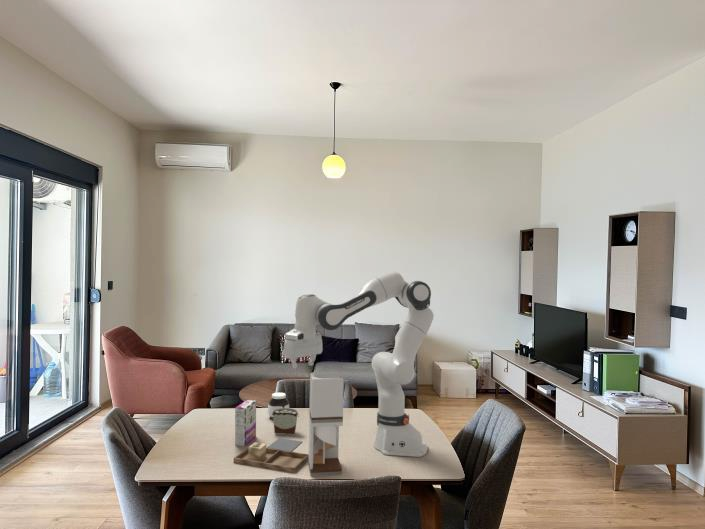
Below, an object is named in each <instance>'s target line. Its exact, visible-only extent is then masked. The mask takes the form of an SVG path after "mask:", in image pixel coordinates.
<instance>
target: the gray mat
mask: <svg viewBox="0 0 705 529" xmlns="http://www.w3.org/2000/svg"><path fill="white" fill-rule="evenodd" d="M301 444H303V441H301V440H296V439H295V440H294V439H289V438H281V437H278V438H277V439H275V441H274V442H272V443H271V444H269V446H266V448H271V449H277V450H284V451H290V452H294V450H295V449H296V448H297V447H299V446H300V445H301Z"/></svg>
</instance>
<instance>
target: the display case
mask: <svg viewBox="0 0 705 529" xmlns="http://www.w3.org/2000/svg"><path fill="white" fill-rule="evenodd" d="M340 373H341V372H340V371H326V372H325V371H324V372H323V371H319V372H318V371H317V372H314V371H313V372H310V373H309V410H308V412H309V413H308V416H309V419H308V454H309V459H308V460H307V461H308V464H307V465H308V470H309V474H310V475H309V476H310V477H323V476H341V475H343V467H342V465H341V462H340V459H339V434H340V433H339V432H340V428H339V427H340V426H341V427H342V426H344V422H343V421H344V419H343V418H344V383H345V382H344V380H345V379H344V377H341V374H340Z"/></svg>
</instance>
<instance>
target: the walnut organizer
mask: <svg viewBox="0 0 705 529" xmlns="http://www.w3.org/2000/svg"><path fill="white" fill-rule="evenodd" d="M248 451H249V446H248V447H247V448H246V449H244V450H242V451H241V452H240V453H239V454H237V455H236V456H234V457H233V463H234V464H240V465H244V466H245V465H246V466H250V467H251V466H252V467H257V468H263V469H267V470H274V471H279V472H286V473H293V474H295V473H296V472H297V471H298V470H299V469H300V468H301V467H303V466H304V464H306V462H307V461H309V453H302V452H296V451H292V452H290V451H284V450H277V449H271V448H267V447H266V457H265V458H264V459H263V460H261V461H260V462H258V461H252V460H248Z"/></svg>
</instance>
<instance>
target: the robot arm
mask: <svg viewBox="0 0 705 529" xmlns="http://www.w3.org/2000/svg"><path fill="white" fill-rule="evenodd" d="M431 297H432V290H431V288H430V286H429V285H428V284H427V283H426V282H424V281H422V280H415V281H411V282H406V281H405V279H404V277H403V276H402V274H400V273H399V272H397V271H392V272H388V273H384V274H381V275H379V276H376V277H374V278H372V279H370V280H368V281H366V283H364V284H363V285H362V286H361V288H360V292H359V293H358V294H357V295H356V296H354V297H352V298H350V299H348V300H345V301H344V302H342V303H339V304H332V303H329V302H327V301H325V300H323V299H321V298H319V297H318V296H317V295H315V294H311V293H310V294H304V295H303V294H302V295H301V296H299V297H298V298H297V300H296V304H295V311H294V312H295V314H294V315H295V322H294V328H292V329H291V330H289V331H288V332H286V333H285V334H284V338H285V341H284V343H283V344H284V345H283V356H284V358H285V359H287V360H288V359H289V360H290V362H291V365H292V369H294V370H296V369H298V368H299V364H298V363H297V360H298V358H304V357H310V358H309V360H308V361H307V362H308V363H307V365H308V366H311V367H312V366H314V364H315V363H314V362H315V360H316V357H317V355H321V354H322V352H323V339H322V334H321V333H320V332H319V331H317V325H320V326H321V327H322V328H323V329H324V330H327V331H334V330H337V329H338V328H340V327H341V326H342V325H343V324H344V323H345V321H346V320H348V319H349V318H350V317H353V316H355V315H357V314H358V313H360V312H362V311H363V310H365V309H368V308H370V307H374V306H377V305H380V304H382V303H384V302H387V301H388V300H390V299H393V298H395V299H396V302H398V303H399V305H401V306H402V307H404V308H408V313H407V316H406V318H405V319H404V320H403V323H402V324H401V325H400V327H399V330H398V331H397V333H396V334H395V337H394V341H395V343H394V348H393V351H392V352H389V351H380V352H377V353H375V354H374V355H373V356H372V358H371V368H372V370H373V372H374V375H375V381H376V386H377V394H378V409H377V410H378V411H377V414H376V425H377V428H376V429H377V430H376V437H375V440H374V444H373V447H374V448H375V449H376V450H377V451H380V452H381V453H382V454H383V455H384V456H385V455H386V456H402V457H412V458H415V457H416V458H421V457H424V456H425V455H426V454H427V452H428V449H429V448H428V444H427V443H426V442H424V441H423V438H422V434H421V432H420V430H418V429H417V428H416V427H414V426H413V425H412V424H411V423H410V414H407V413H405V403H406V402H405V398H406V396H405V393H404V391H403V388H402V385H408V384H410V383H411V382H412V381H413V379H414V378H415V374H416V371H415V360H416V356H417V353H418V351H419V348H420V346H421V345H422V343H423V341H424V339H425V338H426V335H427V334H428V332H429V330H430V328H431V325H432V323H433V321H434V317H435V316H434V312H433V310H432V309H431V308H430V305H431ZM316 331H317V332H316Z"/></svg>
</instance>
